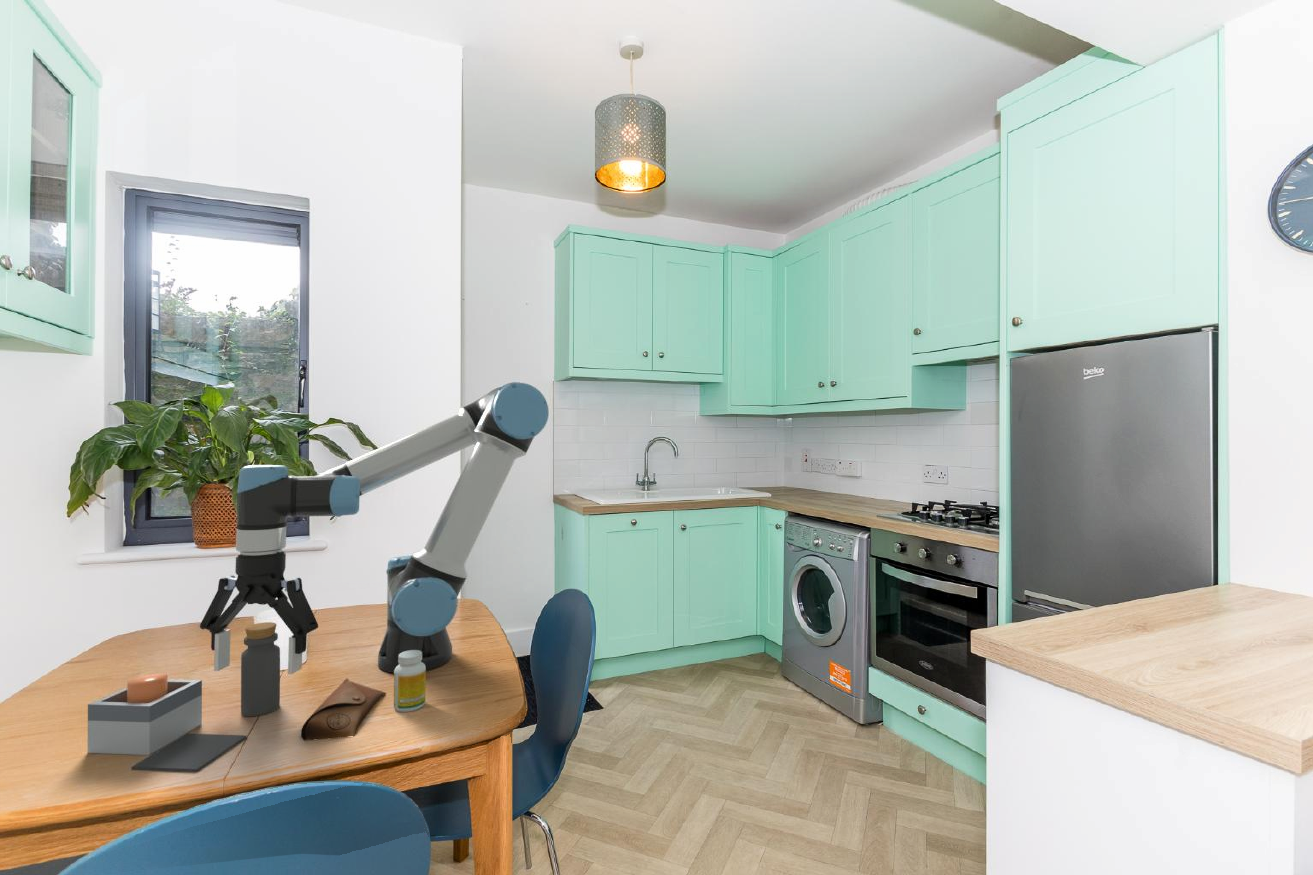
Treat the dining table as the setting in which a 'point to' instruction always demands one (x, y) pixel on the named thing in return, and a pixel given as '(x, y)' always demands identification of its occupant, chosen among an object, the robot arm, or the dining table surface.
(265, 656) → the bottle
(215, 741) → the coaster
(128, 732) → the grey open box
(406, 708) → the supplement bottle
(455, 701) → the dining table surface
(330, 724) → the sunglasses case
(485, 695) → the dining table surface
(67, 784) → the dining table surface
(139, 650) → the dining table surface
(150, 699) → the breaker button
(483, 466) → the robot arm
